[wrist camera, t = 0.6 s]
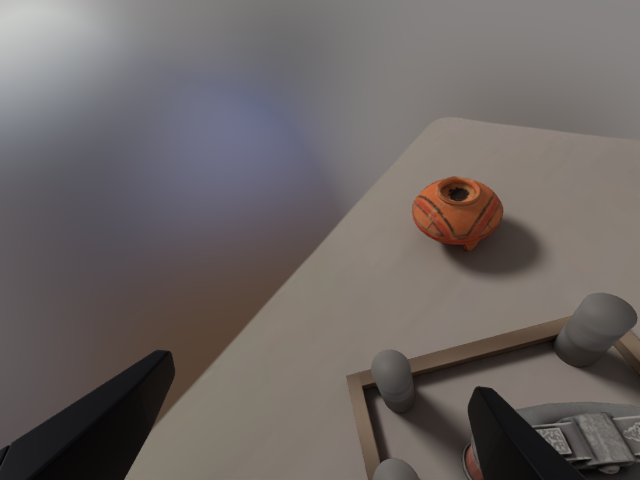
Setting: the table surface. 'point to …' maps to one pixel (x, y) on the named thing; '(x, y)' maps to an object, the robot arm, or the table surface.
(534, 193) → the table surface
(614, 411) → the lighter
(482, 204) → the pot
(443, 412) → the table surface
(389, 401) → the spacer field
